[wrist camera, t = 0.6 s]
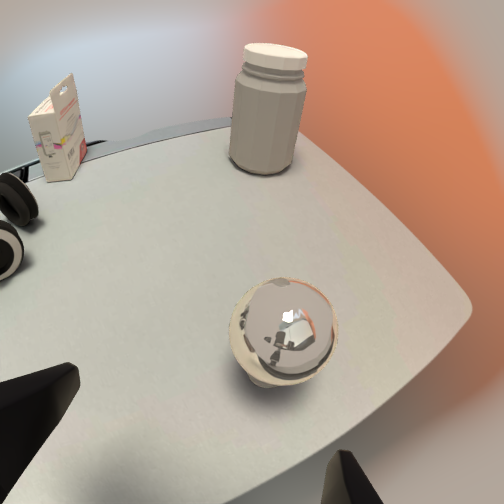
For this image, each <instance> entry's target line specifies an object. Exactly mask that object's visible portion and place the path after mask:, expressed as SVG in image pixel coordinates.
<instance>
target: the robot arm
mask: <svg viewBox="0 0 504 504" xmlns="http://www.w3.org/2000/svg"><path fill="white" fill-rule="evenodd" d="M79 388H80V377H79V370H78V367H77V366H75V365H73V364H71V363H69V362H66V363H63V364H60V365H56V366H53V367H50V368H47V369H44V370H40V371H37V372H34V373H31V374H27V375H24V376H20V377H17V378H14V379H10V380H7V381H3V382H0V504H2V503H3V502H4V500H5V499H6V497H7V496H8V494H9V492H10V491H11V489H12V488H13V486H14V485H15V483H16V482H17V481H18V479H19V478H20V476H21V475H22V473H23V472H24V470H25V469H26V468H27V466H28V465H29V463H30V462H31V460H32V459H33V458H34V456H35V455H36V453H37V452H38V451H39V449H40V448H41V447H42V445H43V444H44V442H45V441H46V440H47V438H48V437H49V436H50V434H51V433H52V431H53V430H54V429H55V427H56V426H57V425H58V423H59V422H60V420H61V419H62V417H63V416H64V414H65V412H66V411H67V409H68V407H69V405H70V404H71V402H72V400H73V398H74V397H75V395H76V393H77V392H78V390H79ZM321 504H383V502H382V500H381V499H380V497H379V496H378V494H377V492H376V491H375V489H374V488H373V486H372V484H371V483H370V481H369V480H368V478H367V476H366V475H365V473H364V472H363V470H362V469H361V467H360V466H359V464H358V462H357V460H356V459H355V457H354V456H353V454H352V452H351V451H348V450H342V449H339V450H337V451H336V453H335V454H334V456H333V457H332V458H331V460H330V461H329V463H328V465H327V469H326V475H325V482H324V489H323V494H322V500H321Z"/></svg>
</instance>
